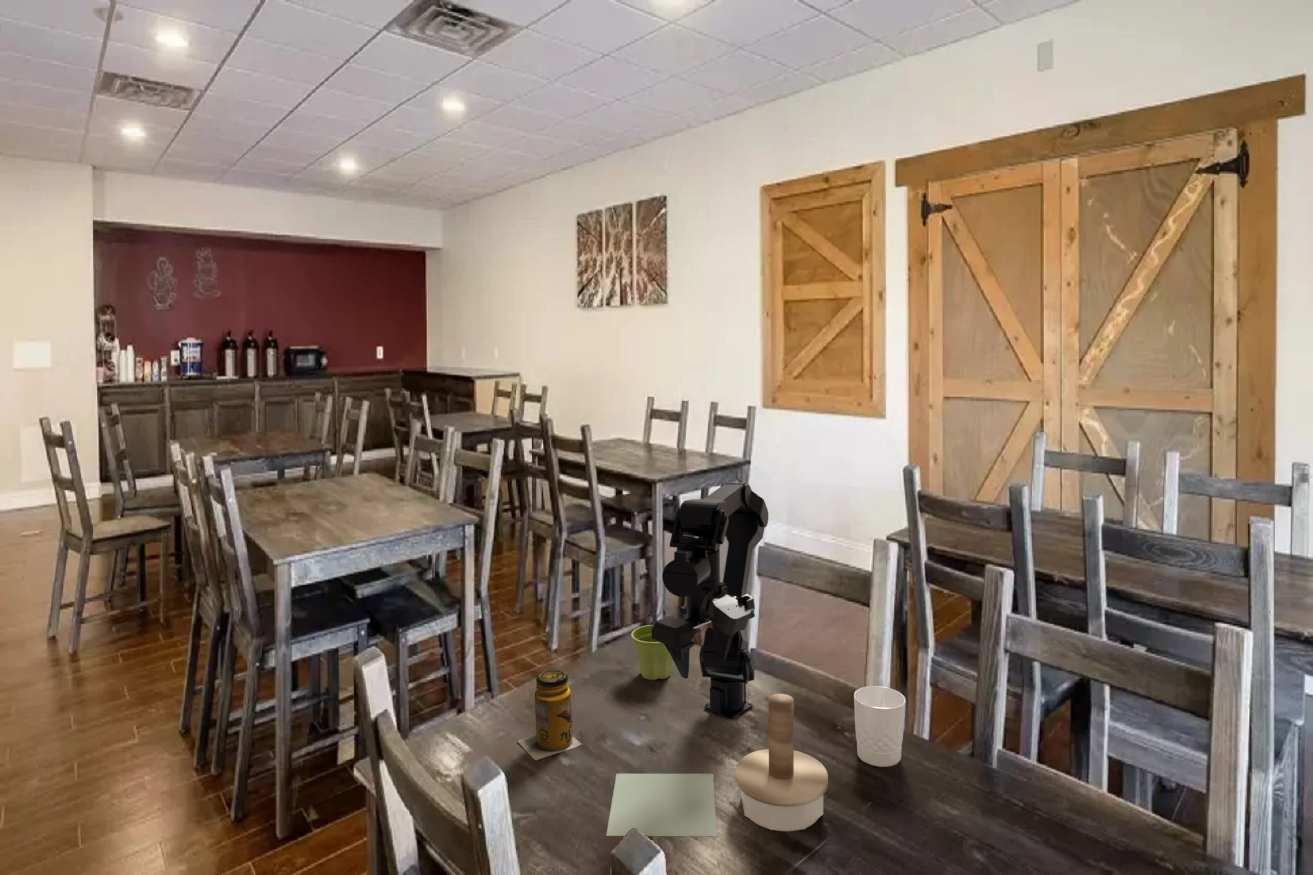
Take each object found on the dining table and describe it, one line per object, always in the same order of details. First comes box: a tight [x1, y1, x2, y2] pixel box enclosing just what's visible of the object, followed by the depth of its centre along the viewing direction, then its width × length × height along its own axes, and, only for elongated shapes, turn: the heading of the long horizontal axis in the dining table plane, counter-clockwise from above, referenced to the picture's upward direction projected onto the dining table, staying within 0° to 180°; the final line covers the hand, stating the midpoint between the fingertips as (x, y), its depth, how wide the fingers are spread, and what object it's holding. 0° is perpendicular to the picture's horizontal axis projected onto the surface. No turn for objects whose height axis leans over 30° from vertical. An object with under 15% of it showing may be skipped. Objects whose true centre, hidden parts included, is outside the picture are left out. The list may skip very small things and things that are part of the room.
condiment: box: [517, 669, 582, 761], centre depth 129 cm, size 7×8×12 cm
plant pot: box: [630, 624, 673, 681], centre depth 155 cm, size 9×9×9 cm
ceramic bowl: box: [740, 790, 824, 832], centre depth 110 cm, size 11×11×4 cm
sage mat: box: [605, 773, 717, 837], centre depth 112 cm, size 15×15×1 cm
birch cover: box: [735, 693, 829, 807], centre depth 109 cm, size 13×13×12 cm
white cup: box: [853, 685, 907, 768], centre depth 123 cm, size 8×8×10 cm
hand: (703, 668), depth 127 cm, fingers open, 9 cm apart
